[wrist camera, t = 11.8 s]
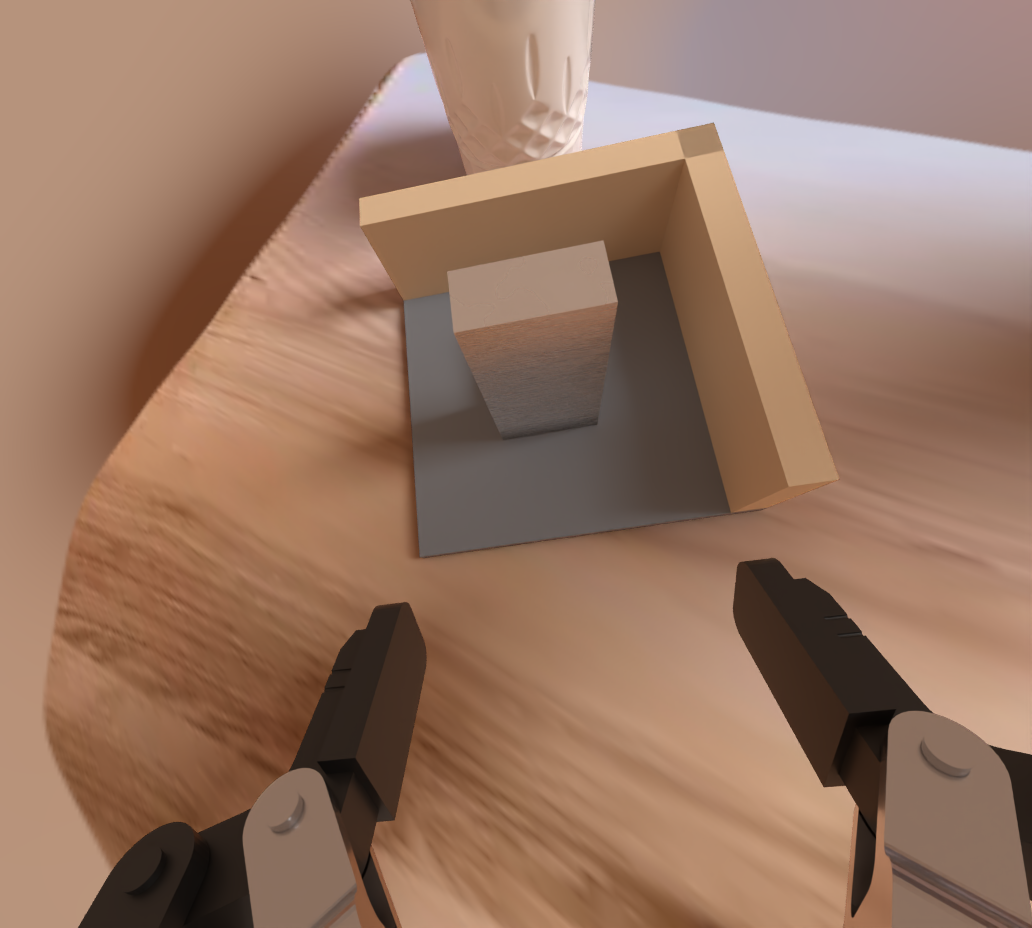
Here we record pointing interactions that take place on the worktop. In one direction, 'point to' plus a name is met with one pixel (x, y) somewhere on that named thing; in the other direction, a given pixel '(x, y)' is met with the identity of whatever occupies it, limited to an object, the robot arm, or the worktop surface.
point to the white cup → (510, 75)
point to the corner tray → (632, 358)
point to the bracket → (537, 336)
